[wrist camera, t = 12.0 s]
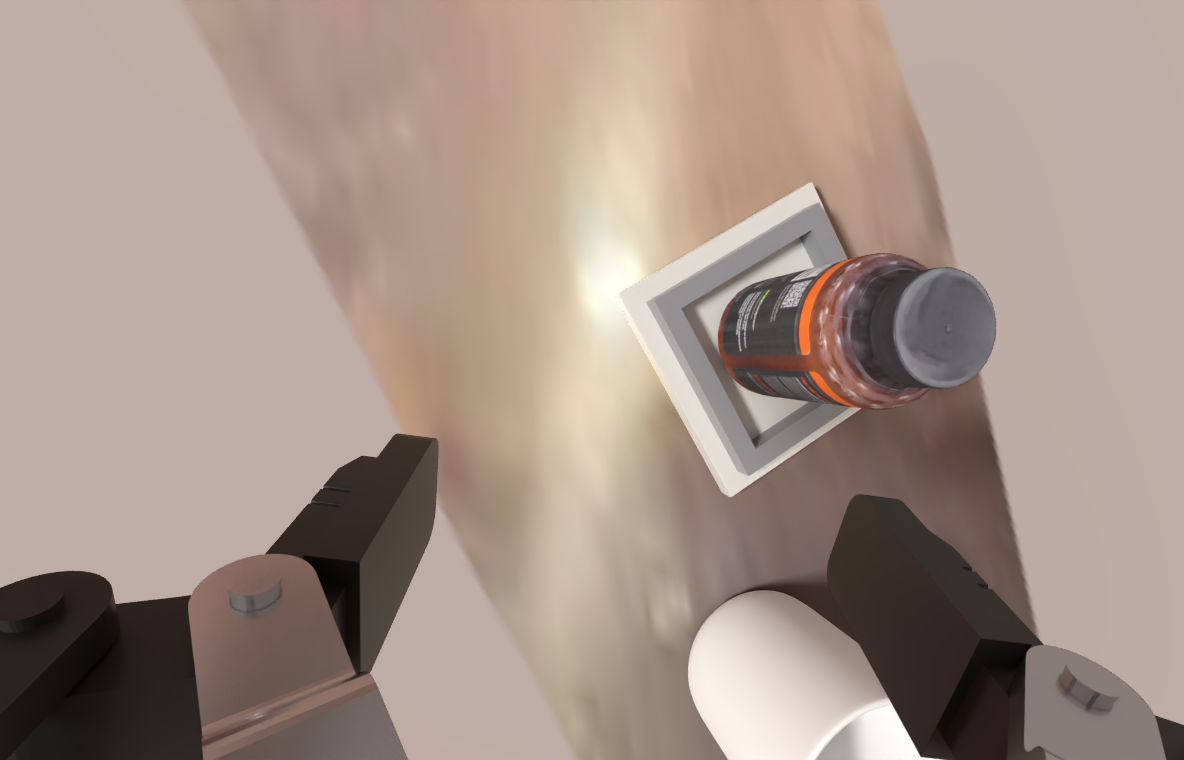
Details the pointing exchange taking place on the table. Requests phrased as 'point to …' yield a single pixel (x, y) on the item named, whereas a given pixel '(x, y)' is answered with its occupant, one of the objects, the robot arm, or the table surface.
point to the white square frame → (690, 338)
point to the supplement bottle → (858, 332)
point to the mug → (790, 686)
